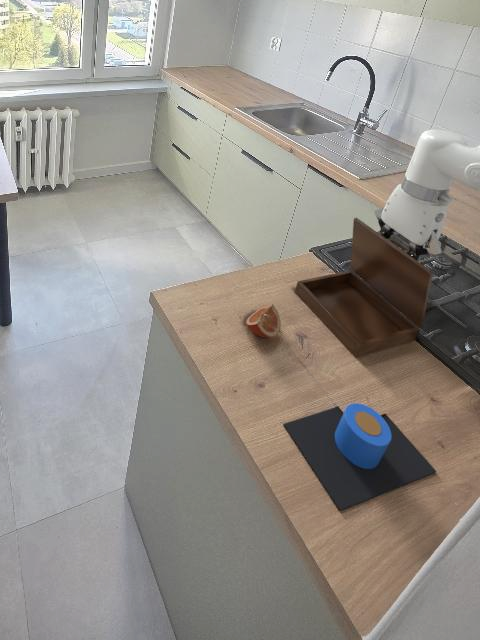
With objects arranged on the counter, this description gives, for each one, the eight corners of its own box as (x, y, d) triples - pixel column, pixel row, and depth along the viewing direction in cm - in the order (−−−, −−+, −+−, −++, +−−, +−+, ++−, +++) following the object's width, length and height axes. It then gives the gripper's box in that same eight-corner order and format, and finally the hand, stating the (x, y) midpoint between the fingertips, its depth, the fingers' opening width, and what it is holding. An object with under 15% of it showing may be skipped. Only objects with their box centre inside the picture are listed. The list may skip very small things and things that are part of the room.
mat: (369, 397, 81) (370, 396, 81) (435, 472, 69) (436, 471, 69) (283, 425, 75) (283, 423, 75) (339, 511, 64) (340, 510, 64)
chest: (354, 360, 88) (360, 346, 86) (293, 294, 104) (297, 281, 102) (413, 343, 92) (420, 329, 91) (346, 282, 109) (351, 269, 107)
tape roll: (355, 421, 76) (366, 398, 73) (388, 462, 70) (402, 439, 67) (325, 431, 74) (335, 408, 72) (357, 474, 68) (369, 450, 66)
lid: (430, 273, 82) (449, 264, 83) (353, 218, 99) (369, 211, 99) (419, 328, 90) (436, 320, 91) (350, 269, 107) (365, 262, 107)
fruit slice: (256, 311, 99) (260, 295, 97) (284, 329, 94) (289, 313, 92) (238, 331, 93) (243, 315, 91) (267, 351, 89) (272, 334, 87)
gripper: (481, 210, 79) (444, 282, 87) (400, 166, 94) (375, 231, 102) (452, 215, 78) (417, 288, 85) (374, 170, 92) (350, 236, 100)
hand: (394, 256), depth 93 cm, fingers closed on lid, 5 cm apart
